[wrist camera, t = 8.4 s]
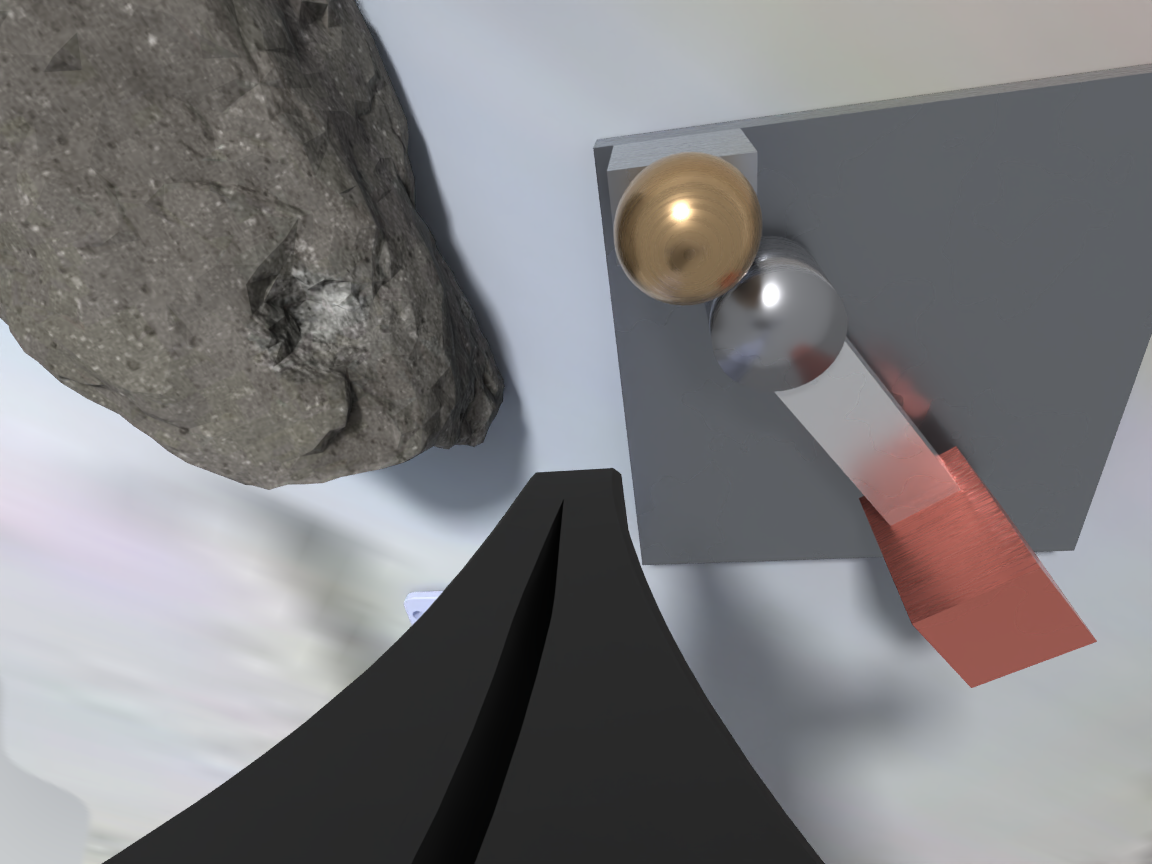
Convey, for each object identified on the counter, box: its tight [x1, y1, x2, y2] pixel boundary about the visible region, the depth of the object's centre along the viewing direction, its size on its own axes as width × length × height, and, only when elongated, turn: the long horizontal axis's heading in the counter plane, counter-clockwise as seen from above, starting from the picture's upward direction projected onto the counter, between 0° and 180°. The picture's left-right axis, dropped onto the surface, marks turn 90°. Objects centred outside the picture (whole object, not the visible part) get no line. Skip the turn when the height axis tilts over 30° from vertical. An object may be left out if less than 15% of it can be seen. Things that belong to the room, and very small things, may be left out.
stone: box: [0, 0, 505, 490], centre depth 15 cm, size 18×9×10 cm
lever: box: [705, 236, 1097, 688], centre depth 16 cm, size 12×3×5 cm, turn 43°
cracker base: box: [593, 64, 1152, 565], centre depth 17 cm, size 14×14×7 cm
